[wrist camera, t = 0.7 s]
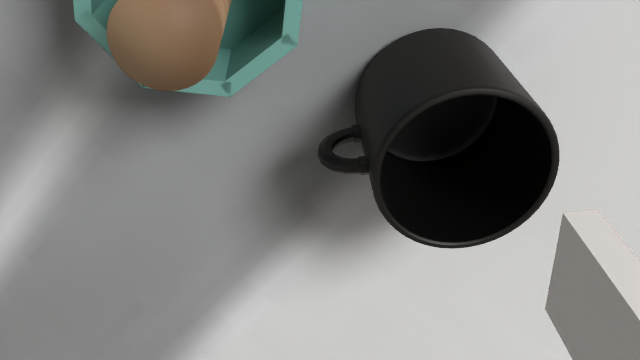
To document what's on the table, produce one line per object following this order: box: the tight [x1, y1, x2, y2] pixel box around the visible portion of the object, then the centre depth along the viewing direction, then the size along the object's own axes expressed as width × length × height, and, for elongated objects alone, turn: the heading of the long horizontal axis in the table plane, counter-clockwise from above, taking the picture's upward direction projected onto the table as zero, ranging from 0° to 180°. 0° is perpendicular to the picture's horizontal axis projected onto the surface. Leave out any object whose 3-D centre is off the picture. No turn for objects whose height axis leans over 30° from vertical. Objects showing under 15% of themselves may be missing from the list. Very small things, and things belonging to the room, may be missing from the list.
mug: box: [318, 28, 559, 248], centre depth 34 cm, size 9×12×9 cm
